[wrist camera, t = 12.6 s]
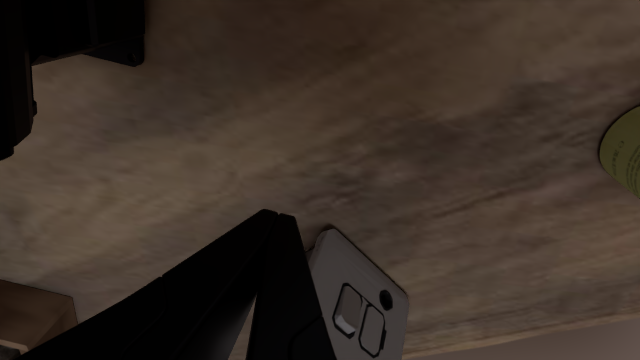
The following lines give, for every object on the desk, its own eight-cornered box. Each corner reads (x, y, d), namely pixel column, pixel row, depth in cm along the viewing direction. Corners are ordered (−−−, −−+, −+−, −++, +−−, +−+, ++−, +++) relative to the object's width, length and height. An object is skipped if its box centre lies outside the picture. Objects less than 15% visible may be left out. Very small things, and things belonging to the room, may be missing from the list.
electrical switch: (411, 295, 27) (415, 427, 20) (361, 316, 30) (348, 440, 22) (330, 220, 25) (300, 339, 17) (283, 249, 27) (239, 365, 20)
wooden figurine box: (16, 364, 40) (-27, 411, 35) (-19, 275, 32) (-78, 320, 28) (90, 382, 40) (56, 431, 35) (72, 297, 32) (26, 345, 28)
